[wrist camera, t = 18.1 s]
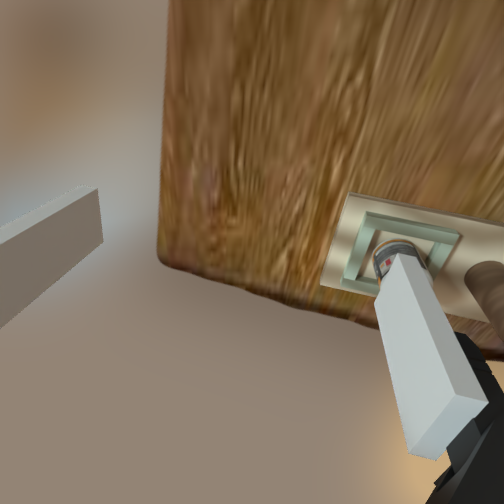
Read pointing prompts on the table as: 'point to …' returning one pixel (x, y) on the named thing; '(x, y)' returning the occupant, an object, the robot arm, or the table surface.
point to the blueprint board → (423, 254)
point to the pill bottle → (387, 254)
